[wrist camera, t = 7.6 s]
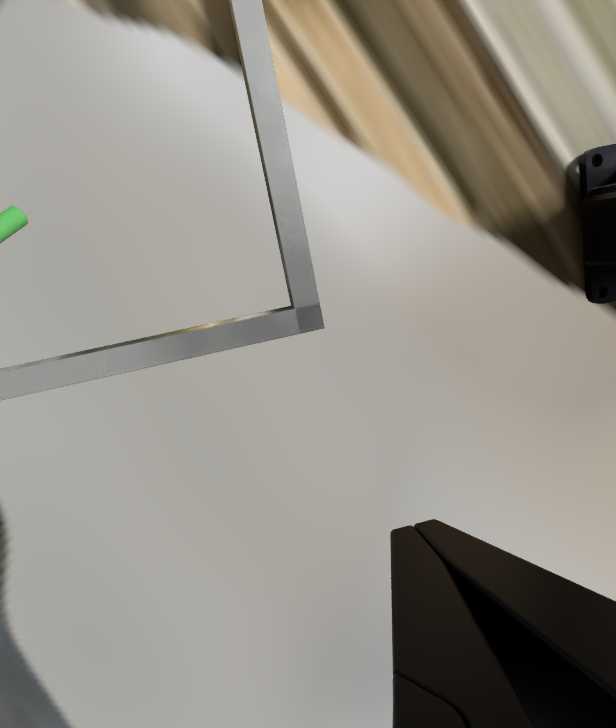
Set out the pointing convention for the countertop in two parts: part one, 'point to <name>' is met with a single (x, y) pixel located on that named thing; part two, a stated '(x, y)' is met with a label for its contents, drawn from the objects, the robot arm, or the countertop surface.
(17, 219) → the gear
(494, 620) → the robot arm
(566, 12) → the countertop surface
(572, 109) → the countertop surface
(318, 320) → the gray rectangular frame
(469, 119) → the countertop surface
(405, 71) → the countertop surface
